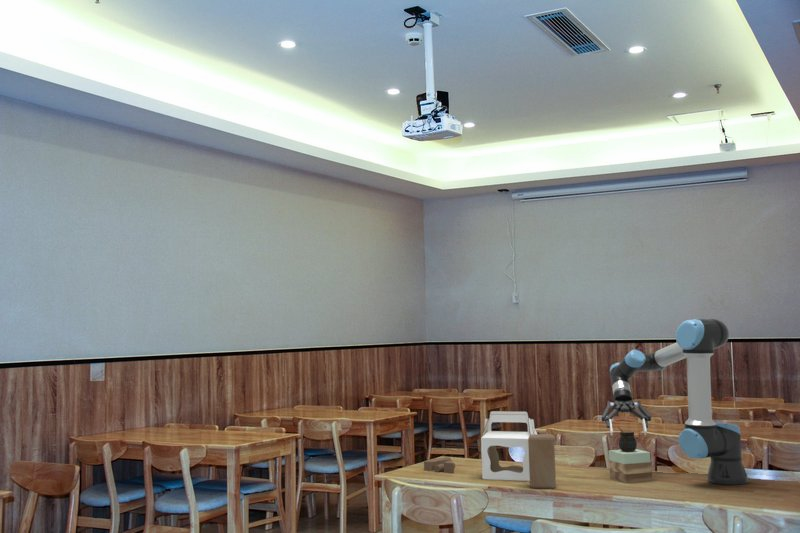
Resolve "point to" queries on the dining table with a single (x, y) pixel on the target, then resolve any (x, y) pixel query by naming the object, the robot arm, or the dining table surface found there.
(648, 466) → the slab middle
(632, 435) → the mate gourd
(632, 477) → the slab bottom
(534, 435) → the block
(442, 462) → the wooden block set
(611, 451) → the slab top
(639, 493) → the dining table surface
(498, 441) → the gable box
